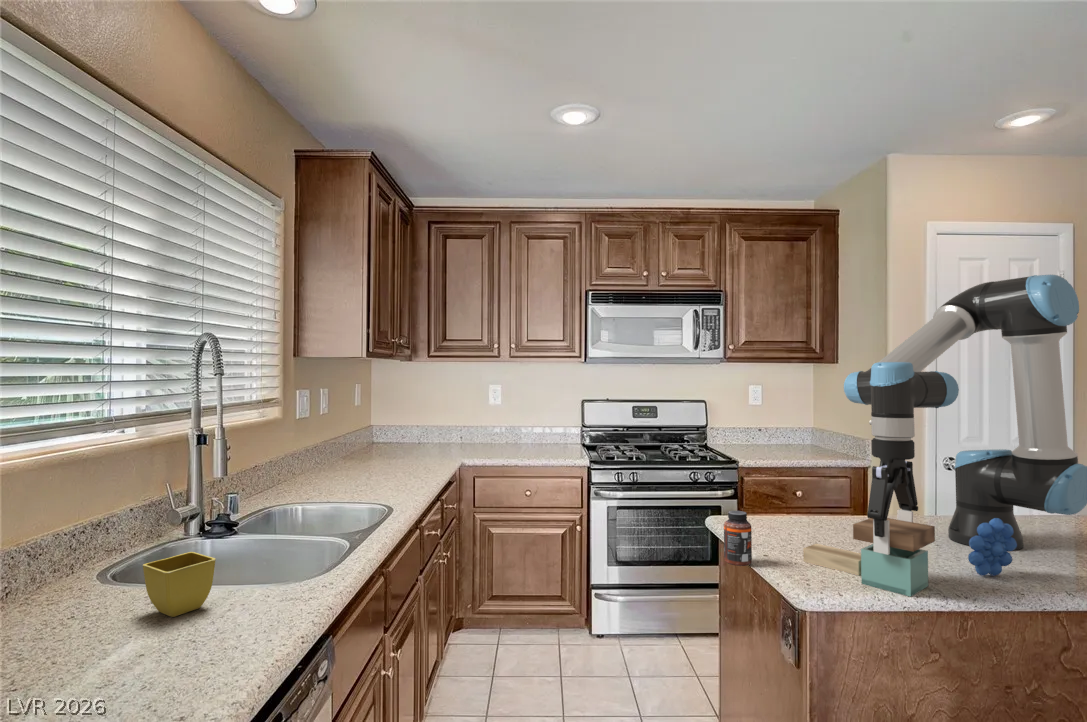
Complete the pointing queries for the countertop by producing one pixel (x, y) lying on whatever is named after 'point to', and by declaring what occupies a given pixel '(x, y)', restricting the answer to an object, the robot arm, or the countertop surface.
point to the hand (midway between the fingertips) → (893, 547)
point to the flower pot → (179, 582)
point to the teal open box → (895, 570)
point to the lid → (898, 534)
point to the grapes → (992, 547)
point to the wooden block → (833, 558)
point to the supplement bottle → (737, 539)
